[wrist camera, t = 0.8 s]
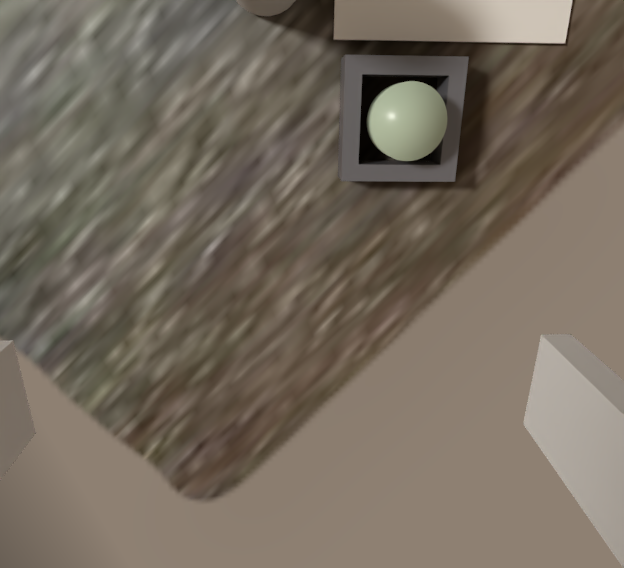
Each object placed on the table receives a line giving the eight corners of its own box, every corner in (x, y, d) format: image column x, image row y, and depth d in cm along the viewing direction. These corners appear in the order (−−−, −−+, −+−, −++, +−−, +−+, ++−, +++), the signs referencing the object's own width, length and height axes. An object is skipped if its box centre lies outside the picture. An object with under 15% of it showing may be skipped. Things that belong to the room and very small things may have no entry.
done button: (368, 82, 28) (373, 80, 26) (440, 83, 28) (451, 81, 26) (364, 157, 30) (369, 160, 28) (433, 157, 30) (443, 161, 28)
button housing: (341, 58, 30) (345, 54, 27) (455, 60, 30) (468, 56, 28) (337, 175, 32) (341, 181, 30) (443, 176, 32) (454, 181, 30)
